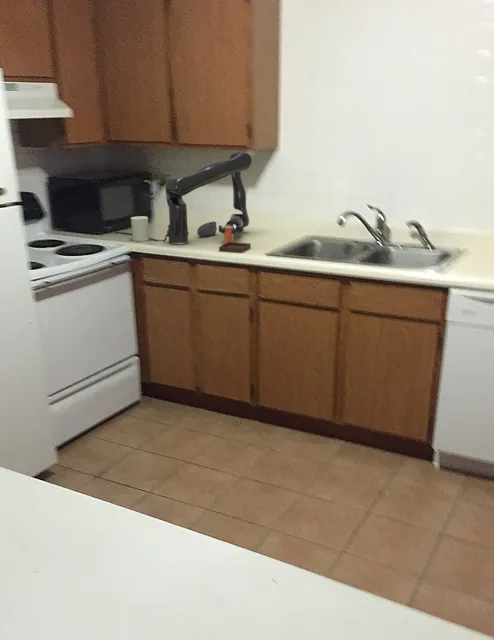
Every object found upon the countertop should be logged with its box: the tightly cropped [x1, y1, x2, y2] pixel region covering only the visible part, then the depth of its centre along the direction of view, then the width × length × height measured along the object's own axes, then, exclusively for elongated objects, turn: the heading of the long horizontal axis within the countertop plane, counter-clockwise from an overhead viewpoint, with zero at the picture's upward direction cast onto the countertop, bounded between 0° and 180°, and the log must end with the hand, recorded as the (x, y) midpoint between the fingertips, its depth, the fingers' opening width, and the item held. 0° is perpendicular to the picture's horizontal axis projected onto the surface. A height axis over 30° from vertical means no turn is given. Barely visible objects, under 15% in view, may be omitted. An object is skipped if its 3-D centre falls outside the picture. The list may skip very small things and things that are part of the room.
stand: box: [218, 241, 252, 254], centre depth 333 cm, size 12×12×2 cm
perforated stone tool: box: [196, 221, 218, 238], centre depth 364 cm, size 15×5×7 cm, turn 139°
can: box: [130, 215, 150, 242], centre depth 357 cm, size 9×9×12 cm
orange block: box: [223, 225, 235, 245], centre depth 343 cm, size 5×5×9 cm
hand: (227, 231), depth 339 cm, fingers closed on orange block, 5 cm apart
